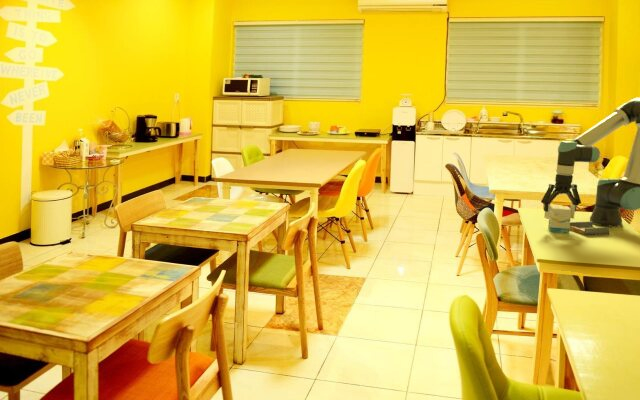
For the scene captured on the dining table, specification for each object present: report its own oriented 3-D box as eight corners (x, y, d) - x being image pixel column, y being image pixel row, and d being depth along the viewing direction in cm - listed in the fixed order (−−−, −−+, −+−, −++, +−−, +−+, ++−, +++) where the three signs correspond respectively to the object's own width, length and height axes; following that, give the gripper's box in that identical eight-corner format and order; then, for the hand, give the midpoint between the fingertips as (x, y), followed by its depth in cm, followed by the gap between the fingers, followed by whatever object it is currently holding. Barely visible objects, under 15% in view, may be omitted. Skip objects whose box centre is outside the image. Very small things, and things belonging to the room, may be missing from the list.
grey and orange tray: (591, 228, 308) (591, 221, 307) (609, 234, 296) (610, 227, 295) (568, 229, 305) (568, 222, 304) (585, 235, 292) (586, 228, 292)
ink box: (569, 234, 295) (572, 209, 293) (550, 232, 297) (553, 208, 294) (566, 229, 303) (568, 206, 301) (547, 228, 305) (550, 204, 303)
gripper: (582, 173, 301) (576, 216, 305) (536, 172, 295) (531, 216, 299) (592, 175, 294) (586, 219, 298) (546, 175, 288) (540, 220, 292)
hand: (559, 218), depth 299 cm, fingers open, 13 cm apart
